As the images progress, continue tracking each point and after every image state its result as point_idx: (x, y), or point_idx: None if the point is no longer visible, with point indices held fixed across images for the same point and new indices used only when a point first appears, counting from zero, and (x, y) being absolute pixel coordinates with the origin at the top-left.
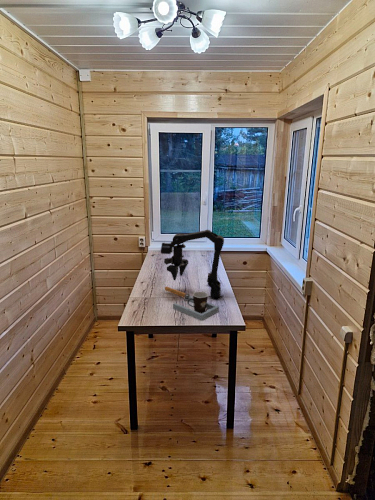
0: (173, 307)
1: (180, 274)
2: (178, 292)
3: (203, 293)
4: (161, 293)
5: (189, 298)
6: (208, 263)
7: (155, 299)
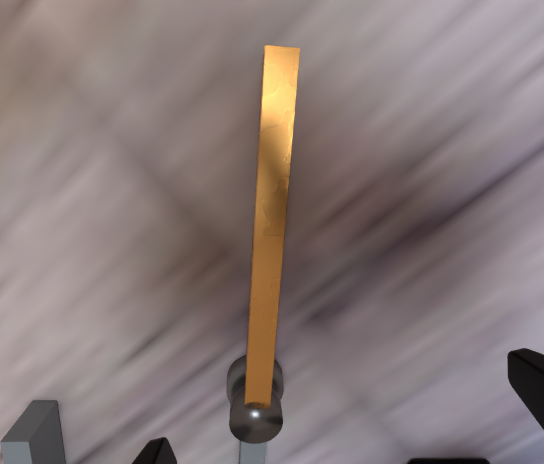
0: (25, 415)
1: (533, 375)
2: (250, 314)
3: None
4: (204, 48)
5: None
6: None
7: (23, 124)
